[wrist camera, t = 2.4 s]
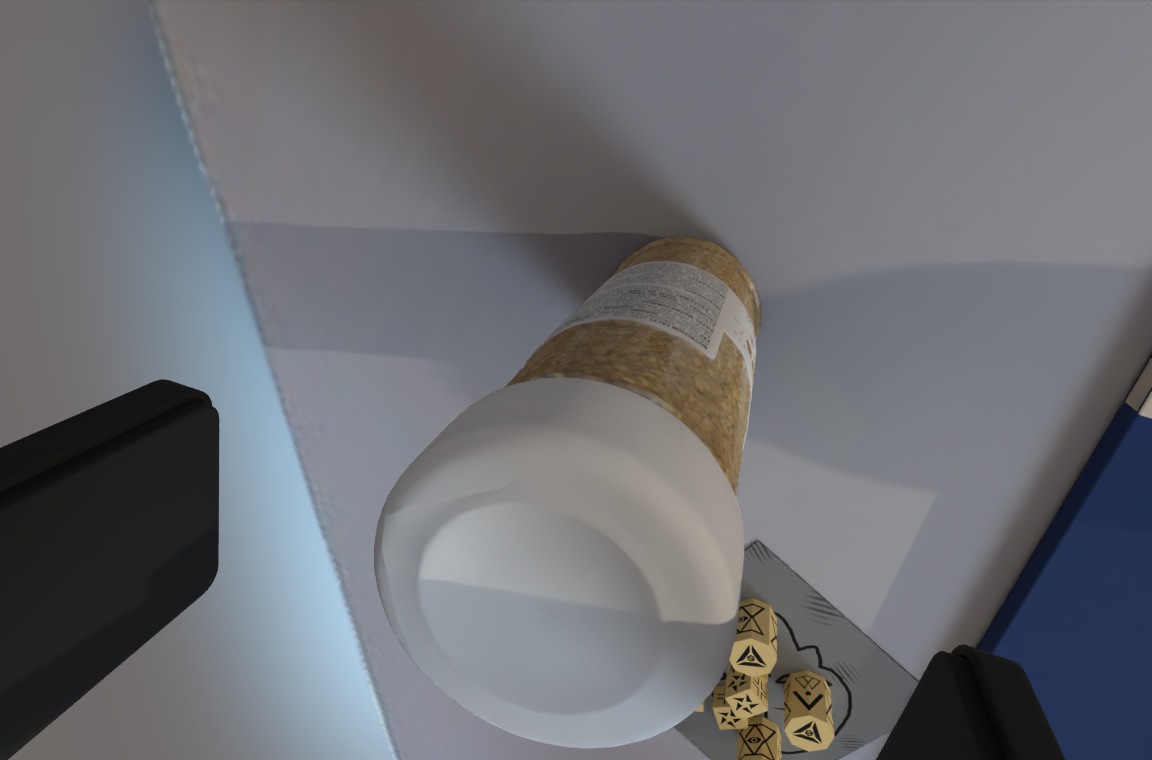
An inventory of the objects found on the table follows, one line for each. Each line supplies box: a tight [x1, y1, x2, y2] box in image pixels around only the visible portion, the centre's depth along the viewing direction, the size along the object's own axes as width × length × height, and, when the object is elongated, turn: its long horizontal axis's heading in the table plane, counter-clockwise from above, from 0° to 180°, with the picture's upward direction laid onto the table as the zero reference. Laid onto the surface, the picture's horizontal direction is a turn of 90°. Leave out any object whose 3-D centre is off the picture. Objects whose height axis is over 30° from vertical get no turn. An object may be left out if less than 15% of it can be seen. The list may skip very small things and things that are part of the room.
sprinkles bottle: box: [374, 237, 761, 749], centre depth 14 cm, size 5×5×13 cm
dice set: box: [695, 599, 835, 760], centre depth 23 cm, size 5×5×2 cm
